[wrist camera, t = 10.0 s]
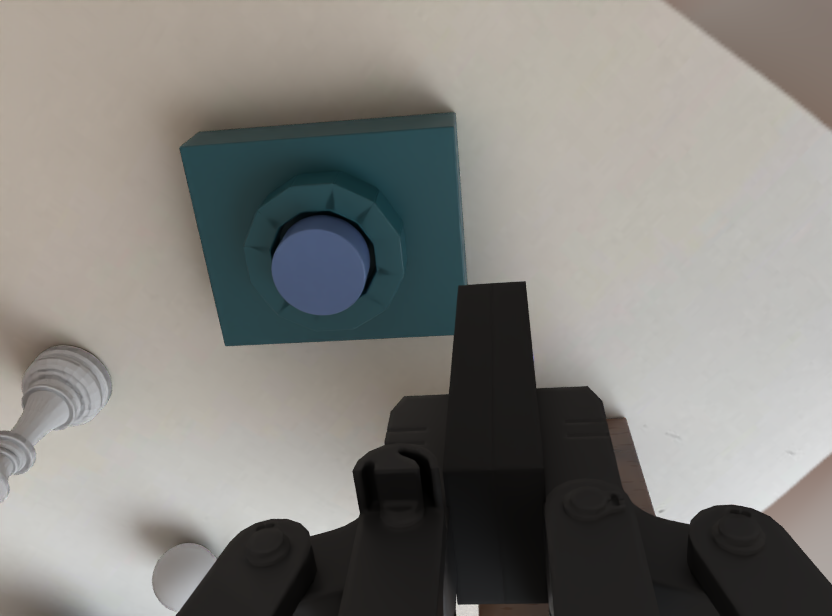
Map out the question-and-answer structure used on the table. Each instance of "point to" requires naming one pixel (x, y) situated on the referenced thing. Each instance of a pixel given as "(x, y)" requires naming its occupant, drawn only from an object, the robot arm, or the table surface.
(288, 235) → the blue push button
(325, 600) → the robot arm
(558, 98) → the table surface
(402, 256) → the push button block
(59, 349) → the chess piece
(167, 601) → the figurine
